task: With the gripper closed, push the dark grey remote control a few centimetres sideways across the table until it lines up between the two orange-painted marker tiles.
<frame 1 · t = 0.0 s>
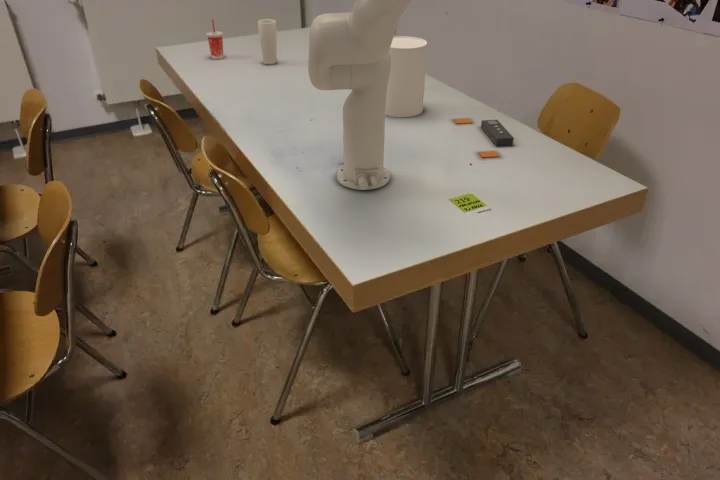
beverage cup: (217, 57, 221), on the table
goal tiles: (475, 137, 157), on the table
drinking glass: (270, 63, 215), on the table
remote: (496, 136, 158), on the table
canister: (400, 109, 175), on the table
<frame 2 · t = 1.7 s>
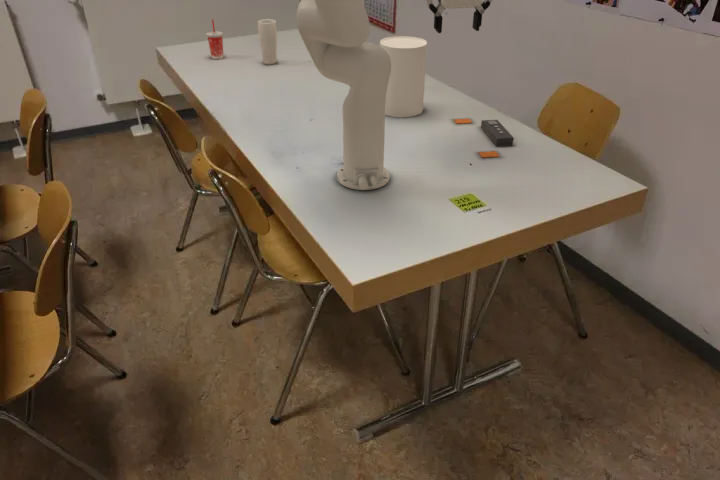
hand: (457, 30, 143), 28 cm above the table, tool pointing down, fingers open, 9 cm apart
nothing on the table moved.
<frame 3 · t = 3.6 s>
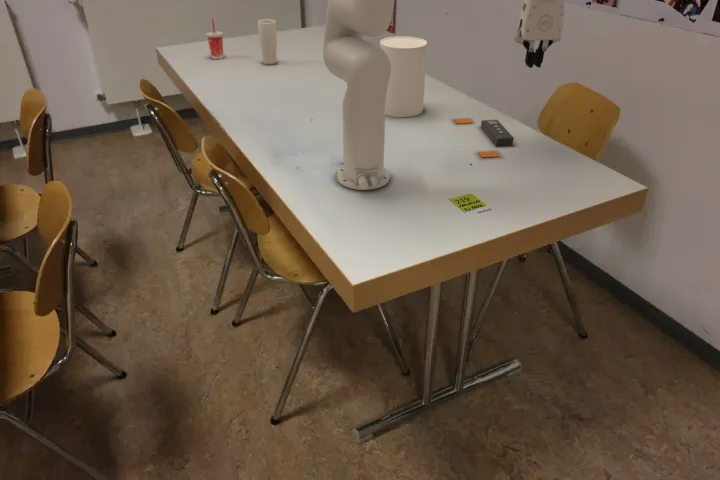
hand: (533, 65, 148), 19 cm above the table, tool pointing down, fingers closed
nothing on the table moved.
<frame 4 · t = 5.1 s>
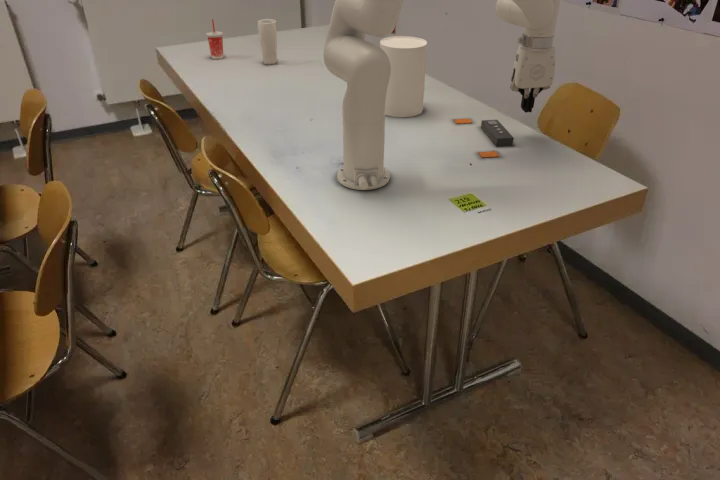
hand: (526, 110, 155), 7 cm above the table, tool pointing down, fingers closed
nothing on the table moved.
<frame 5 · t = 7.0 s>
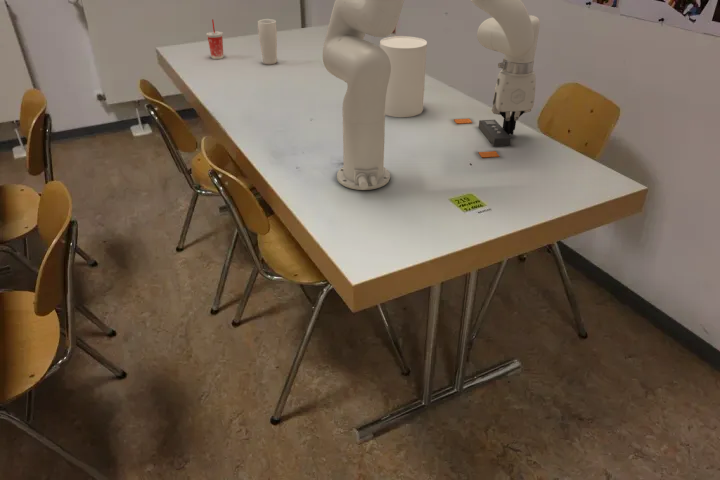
hand: (508, 132, 158), 1 cm above the table, tool pointing down, fingers closed
remote: (493, 136, 158), on the table, touching gripper
everything else where it was.
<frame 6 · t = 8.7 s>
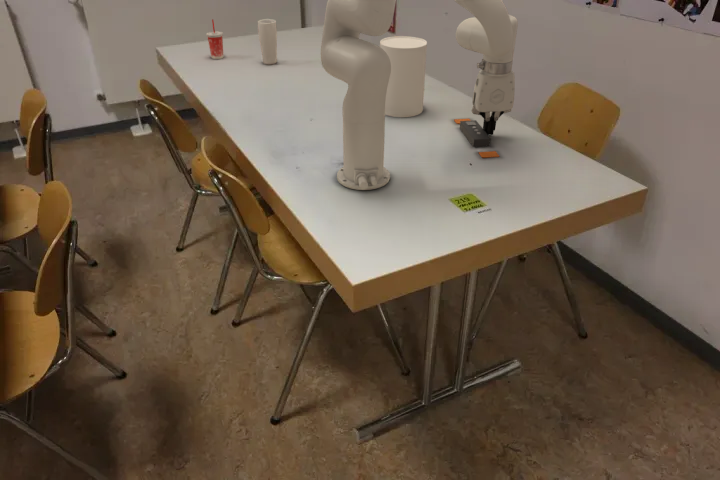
hand: (488, 133, 157), 1 cm above the table, tool pointing down, fingers closed
remote: (474, 137, 157), on the table, touching gripper
everything else where it was.
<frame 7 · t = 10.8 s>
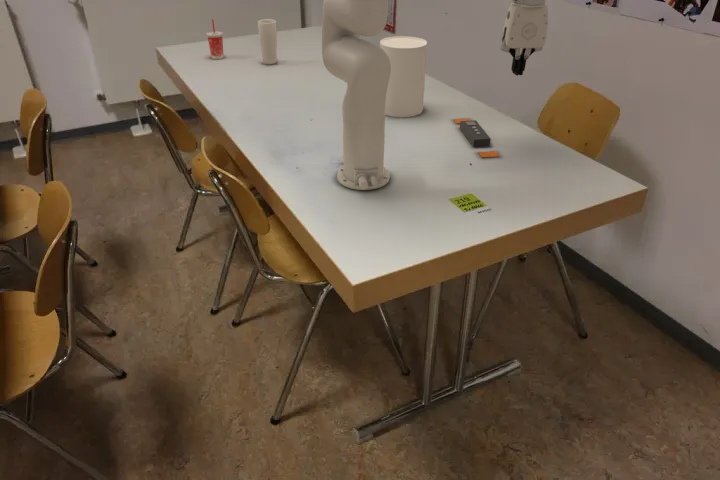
hand: (517, 73, 149), 17 cm above the table, tool pointing down, fingers closed
remote: (474, 137, 157), on the table
everything else where it was.
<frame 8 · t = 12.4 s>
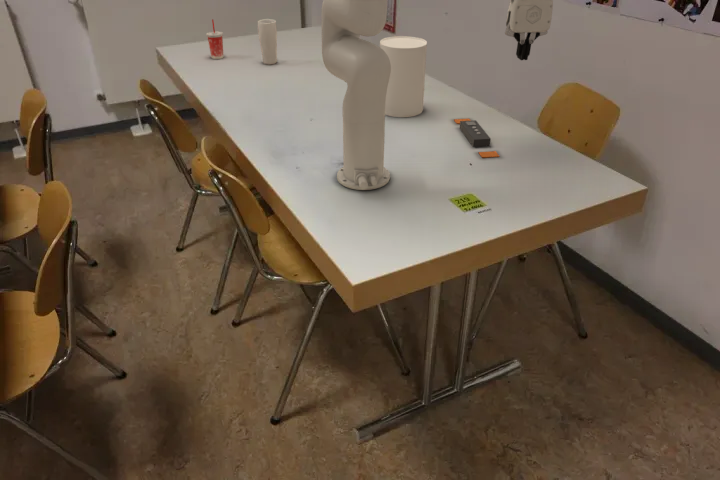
hand: (522, 58, 147), 21 cm above the table, tool pointing down, fingers closed
nothing on the table moved.
at the end: remote 0.2 cm from the target spot, on the table; remote tilted 0° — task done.
